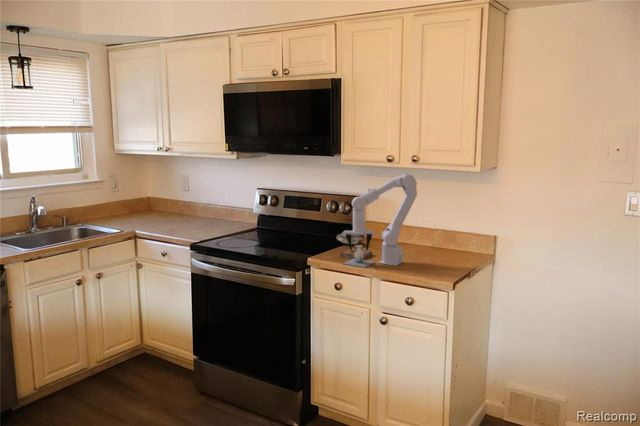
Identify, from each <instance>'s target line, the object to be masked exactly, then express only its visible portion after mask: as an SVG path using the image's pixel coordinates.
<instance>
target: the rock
mask: <svg viewBox="0 0 640 426" xmlns="http://www.w3.org/2000/svg"><path fill="white" fill-rule="evenodd" d="M344 231H349V230H348V229H345V230H344ZM344 231H342V232H341V233H340V234H337V235H336V238H335V239H336V241H339V242H341V243H342V244H345V245H348V246H349V243H348V240H347V238H346V236H344ZM363 241H364V238H363V237H362V235H351V246H352V245H354V246H356V245H359V244H361V243H362V242H363Z"/></svg>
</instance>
